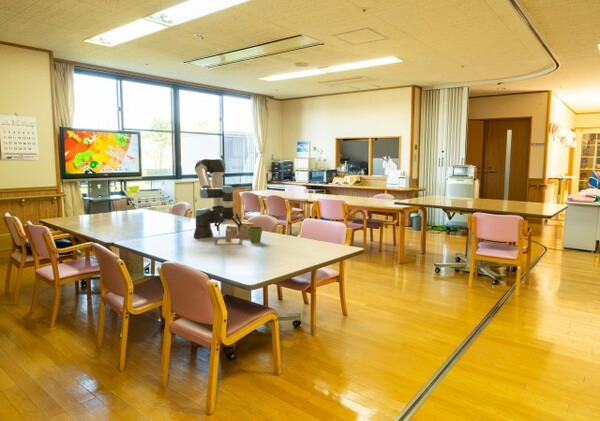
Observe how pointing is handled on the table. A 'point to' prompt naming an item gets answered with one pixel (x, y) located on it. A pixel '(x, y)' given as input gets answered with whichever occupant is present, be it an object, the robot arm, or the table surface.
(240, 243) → the mat
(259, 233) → the plant pot
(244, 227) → the stack of blocks
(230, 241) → the lid
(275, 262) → the table surface
